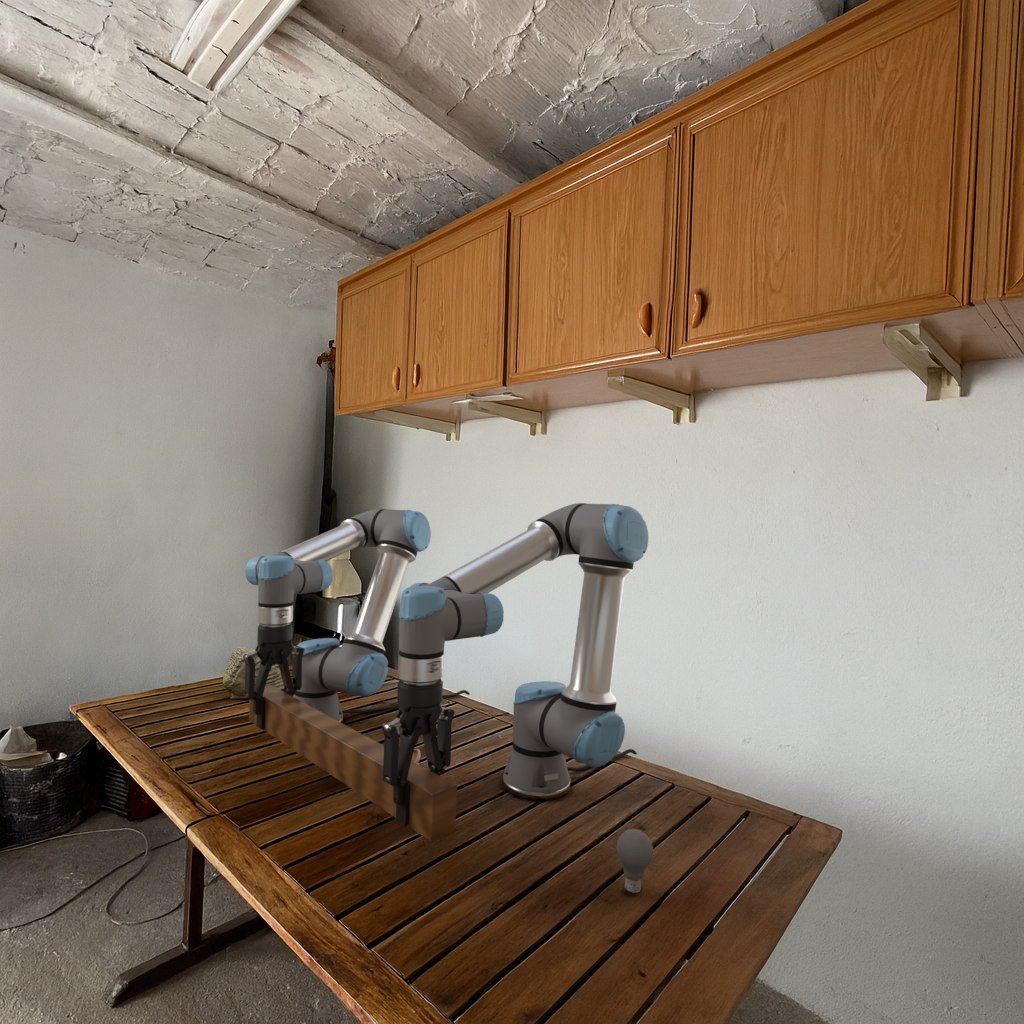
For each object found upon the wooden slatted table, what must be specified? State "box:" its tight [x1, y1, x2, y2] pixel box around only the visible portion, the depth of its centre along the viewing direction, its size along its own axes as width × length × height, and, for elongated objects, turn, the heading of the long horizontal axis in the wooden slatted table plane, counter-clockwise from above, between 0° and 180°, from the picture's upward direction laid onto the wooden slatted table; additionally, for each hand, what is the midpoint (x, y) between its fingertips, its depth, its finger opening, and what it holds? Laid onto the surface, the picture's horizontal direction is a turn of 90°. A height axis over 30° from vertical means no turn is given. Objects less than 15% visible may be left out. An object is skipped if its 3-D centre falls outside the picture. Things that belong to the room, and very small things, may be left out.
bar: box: [248, 685, 458, 842], centre depth 126 cm, size 69×5×8 cm, turn 45°
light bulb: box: [615, 828, 654, 894], centre depth 106 cm, size 6×6×10 cm
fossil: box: [222, 646, 286, 699], centre depth 198 cm, size 9×18×15 cm, turn 132°
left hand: (272, 724), depth 145 cm, fingers closed on bar, 5 cm apart
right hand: (416, 815), depth 107 cm, fingers closed on bar, 5 cm apart
